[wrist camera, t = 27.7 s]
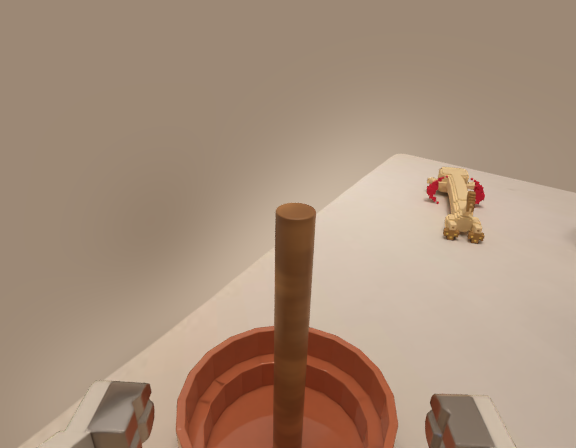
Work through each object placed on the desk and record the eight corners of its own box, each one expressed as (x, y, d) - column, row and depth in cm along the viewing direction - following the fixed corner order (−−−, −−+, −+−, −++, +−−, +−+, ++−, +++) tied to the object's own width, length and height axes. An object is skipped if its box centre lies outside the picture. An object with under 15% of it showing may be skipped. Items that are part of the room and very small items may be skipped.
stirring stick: (266, 447, 31) (267, 210, 22) (286, 429, 32) (294, 199, 23) (288, 467, 30) (297, 223, 21) (307, 446, 31) (324, 210, 22)
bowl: (144, 455, 31) (132, 400, 28) (280, 350, 41) (281, 302, 38) (293, 642, 22) (297, 587, 19) (421, 447, 32) (435, 393, 29)
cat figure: (494, 252, 62) (473, 184, 83) (510, 202, 58) (484, 144, 78) (427, 243, 64) (423, 179, 85) (438, 194, 60) (431, 139, 80)
